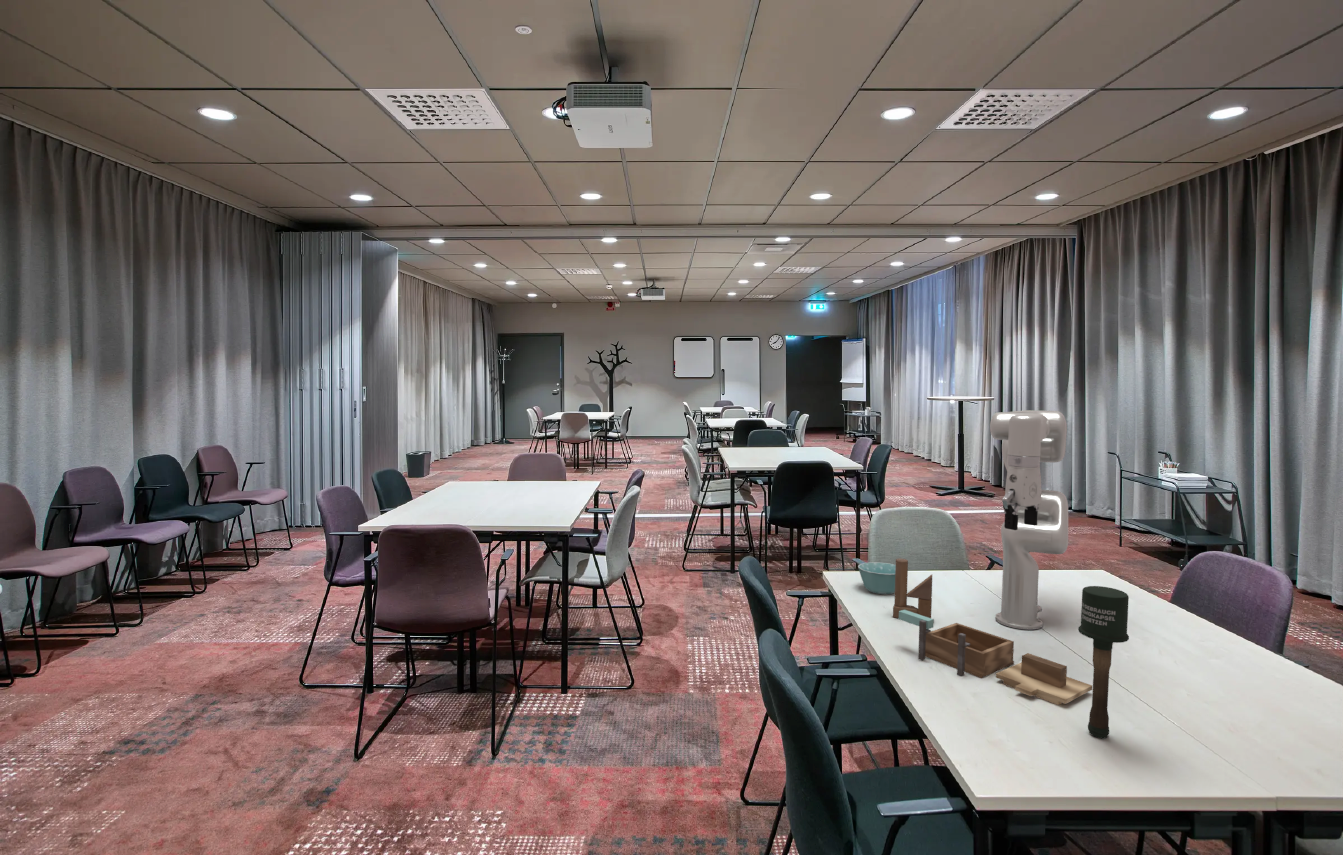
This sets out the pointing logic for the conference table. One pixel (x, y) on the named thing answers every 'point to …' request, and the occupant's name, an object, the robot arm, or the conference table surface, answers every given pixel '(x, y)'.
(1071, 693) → the lid
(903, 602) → the brown wooden block structure
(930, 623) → the teal rectangular bar
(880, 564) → the bowl
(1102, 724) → the stick grenade
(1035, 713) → the conference table surface
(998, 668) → the wooden box
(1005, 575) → the robot arm
